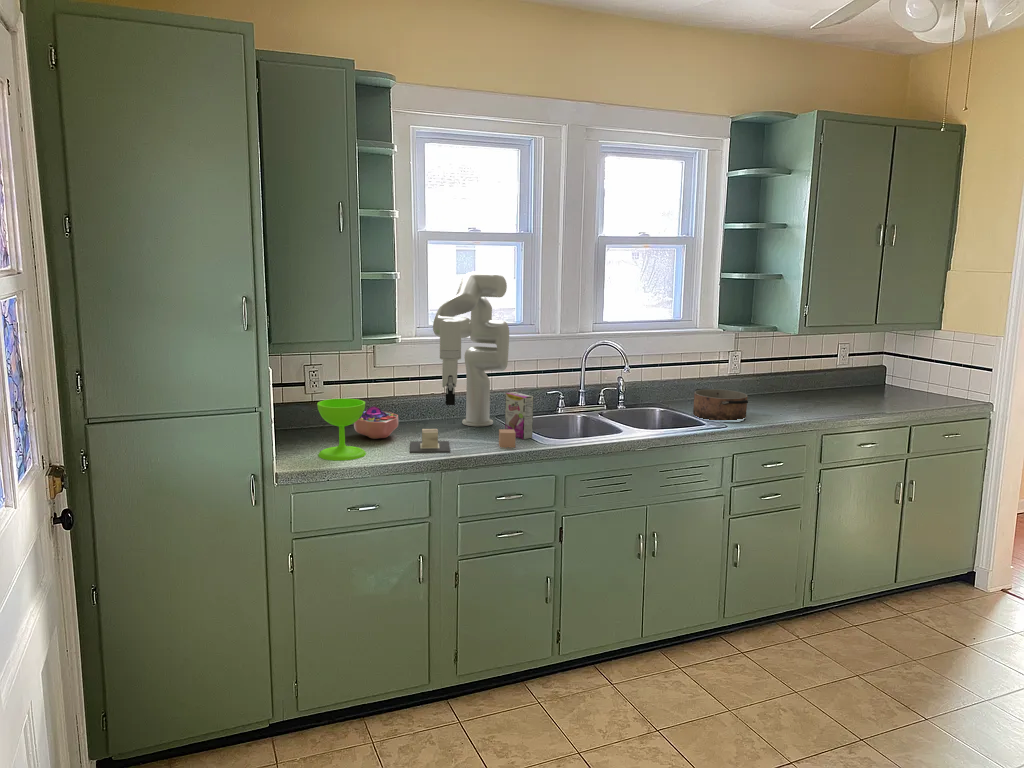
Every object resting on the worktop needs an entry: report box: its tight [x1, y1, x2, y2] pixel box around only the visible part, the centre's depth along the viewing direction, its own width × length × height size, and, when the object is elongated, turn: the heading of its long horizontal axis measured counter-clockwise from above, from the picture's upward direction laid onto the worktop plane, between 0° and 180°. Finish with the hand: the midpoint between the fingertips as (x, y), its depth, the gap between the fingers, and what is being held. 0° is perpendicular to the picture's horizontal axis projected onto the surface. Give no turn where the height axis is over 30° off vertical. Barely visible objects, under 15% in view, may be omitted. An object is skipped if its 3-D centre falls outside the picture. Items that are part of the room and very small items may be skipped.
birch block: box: [421, 428, 439, 448], centre depth 277 cm, size 6×6×6 cm
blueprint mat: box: [409, 440, 451, 454], centre depth 277 cm, size 14×14×1 cm
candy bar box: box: [504, 391, 534, 440], centre depth 296 cm, size 11×5×16 cm, turn 41°
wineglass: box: [316, 398, 367, 462], centre depth 264 cm, size 16×16×18 cm
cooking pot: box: [692, 388, 749, 420], centre depth 338 cm, size 30×22×11 cm
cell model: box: [353, 405, 399, 440], centre depth 290 cm, size 17×20×11 cm
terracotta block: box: [498, 428, 517, 449], centre depth 282 cm, size 6×6×6 cm
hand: (450, 402), depth 276 cm, fingers open, 9 cm apart
